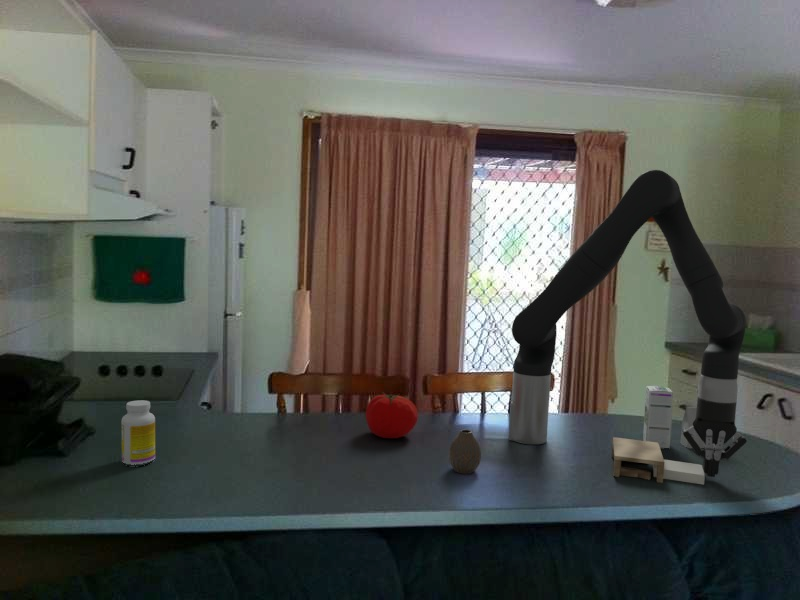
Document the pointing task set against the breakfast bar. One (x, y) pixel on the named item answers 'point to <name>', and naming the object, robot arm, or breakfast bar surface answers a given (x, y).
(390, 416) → the tomato
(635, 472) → the small tan table
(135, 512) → the breakfast bar surface
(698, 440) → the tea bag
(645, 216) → the robot arm
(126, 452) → the supplement bottle
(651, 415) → the syrup box
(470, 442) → the vase
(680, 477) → the tile
